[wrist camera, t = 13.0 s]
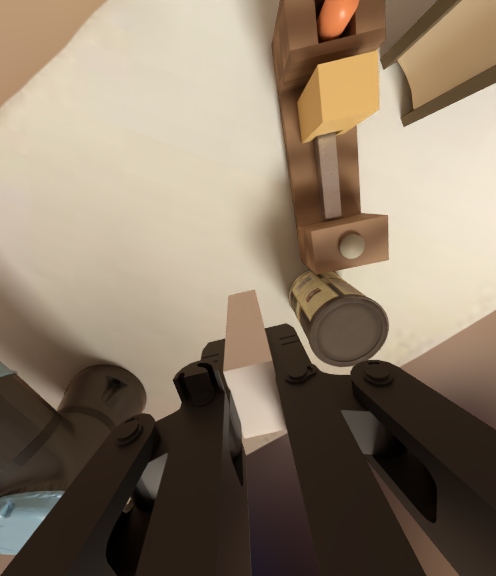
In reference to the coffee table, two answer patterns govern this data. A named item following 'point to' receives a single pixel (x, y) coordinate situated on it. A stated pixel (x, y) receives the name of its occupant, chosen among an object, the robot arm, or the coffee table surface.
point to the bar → (328, 175)
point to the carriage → (339, 96)
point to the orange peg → (334, 18)
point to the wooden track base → (301, 156)
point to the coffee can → (338, 319)
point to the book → (447, 54)
